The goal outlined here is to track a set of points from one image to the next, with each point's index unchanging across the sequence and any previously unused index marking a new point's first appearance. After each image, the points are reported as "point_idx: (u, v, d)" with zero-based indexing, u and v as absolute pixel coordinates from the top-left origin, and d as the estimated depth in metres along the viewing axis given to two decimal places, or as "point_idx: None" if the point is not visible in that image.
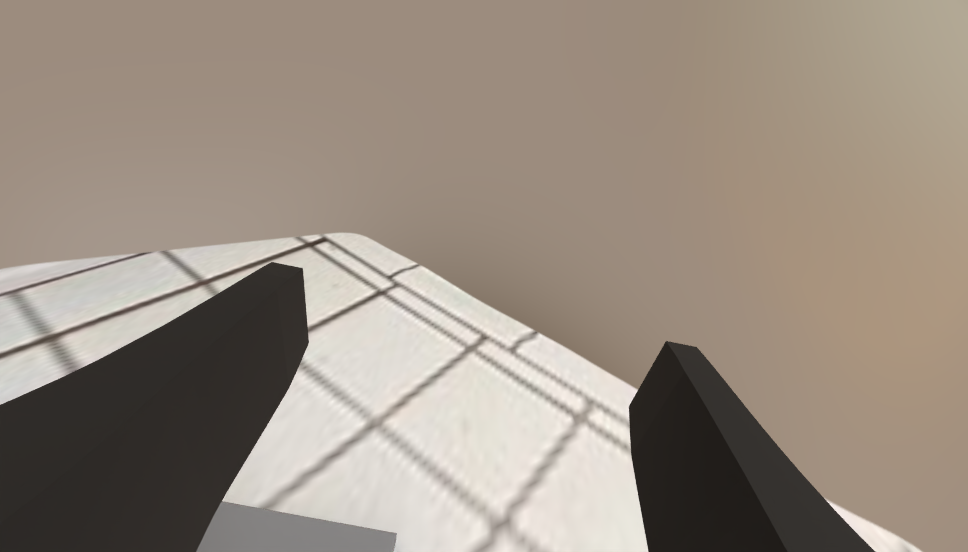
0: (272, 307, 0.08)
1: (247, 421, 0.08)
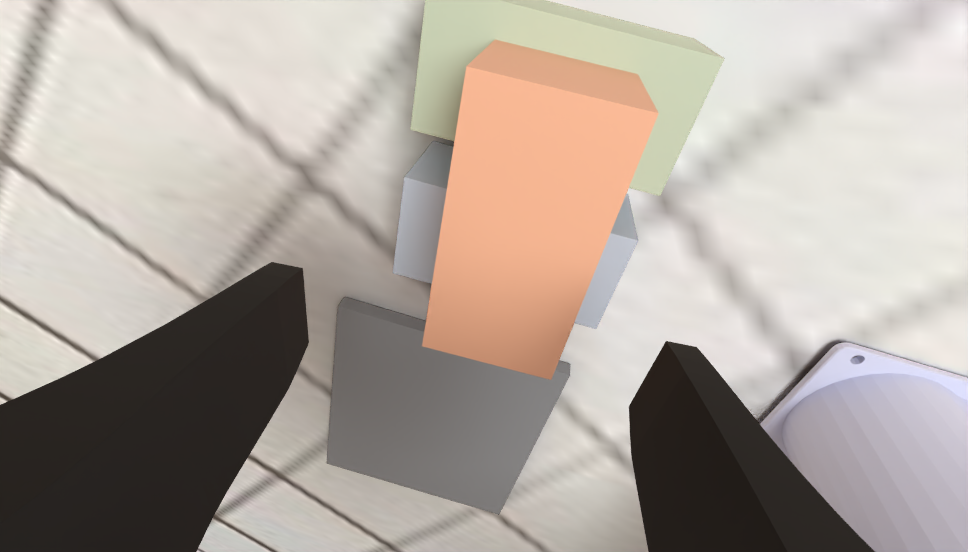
0: (273, 307, 0.08)
1: (247, 421, 0.08)
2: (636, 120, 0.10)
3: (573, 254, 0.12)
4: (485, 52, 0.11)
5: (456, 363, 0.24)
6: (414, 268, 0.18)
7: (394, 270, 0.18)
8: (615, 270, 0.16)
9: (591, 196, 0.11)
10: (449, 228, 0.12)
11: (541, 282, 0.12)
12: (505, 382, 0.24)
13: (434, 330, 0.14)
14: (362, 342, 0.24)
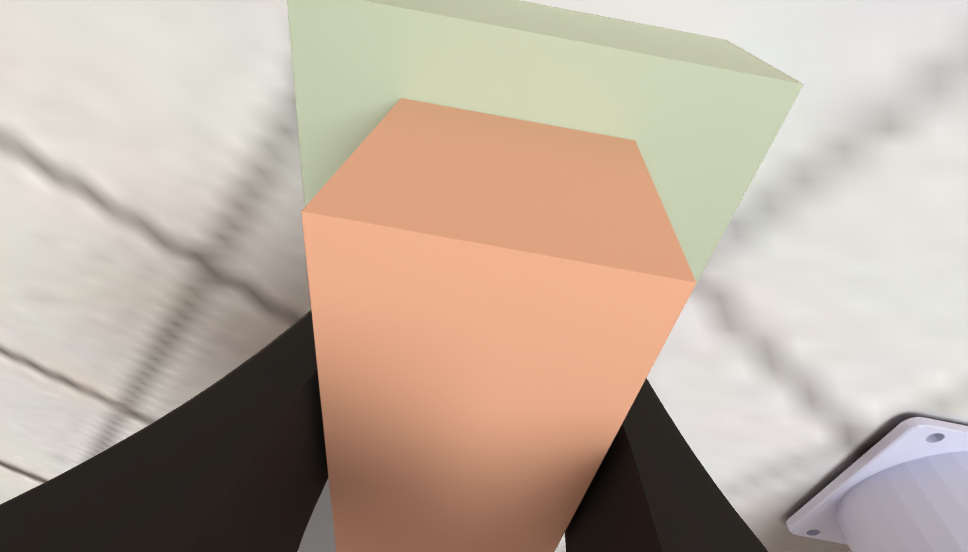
0: None
1: None
2: (652, 294, 0.05)
3: (550, 470, 0.07)
4: (368, 143, 0.06)
5: None
6: None
7: None
8: None
9: (572, 400, 0.06)
10: (339, 437, 0.07)
11: (502, 498, 0.07)
12: None
13: (350, 543, 0.09)
14: None
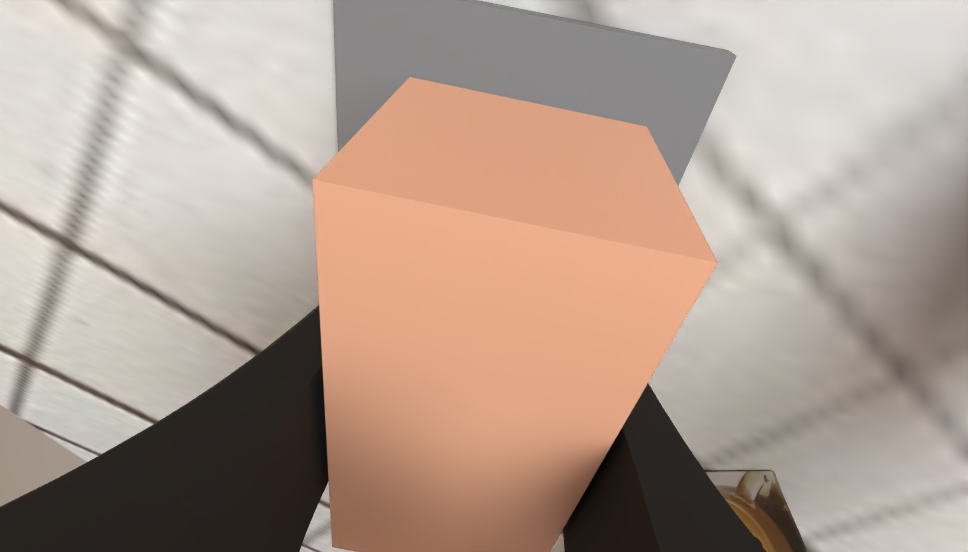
0: None
1: None
2: (671, 275, 0.05)
3: (555, 457, 0.07)
4: (378, 118, 0.06)
5: (538, 72, 0.15)
6: None
7: None
8: None
9: (583, 385, 0.06)
10: (340, 421, 0.07)
11: (505, 487, 0.07)
12: (619, 99, 0.15)
13: (346, 532, 0.09)
14: (380, 57, 0.15)
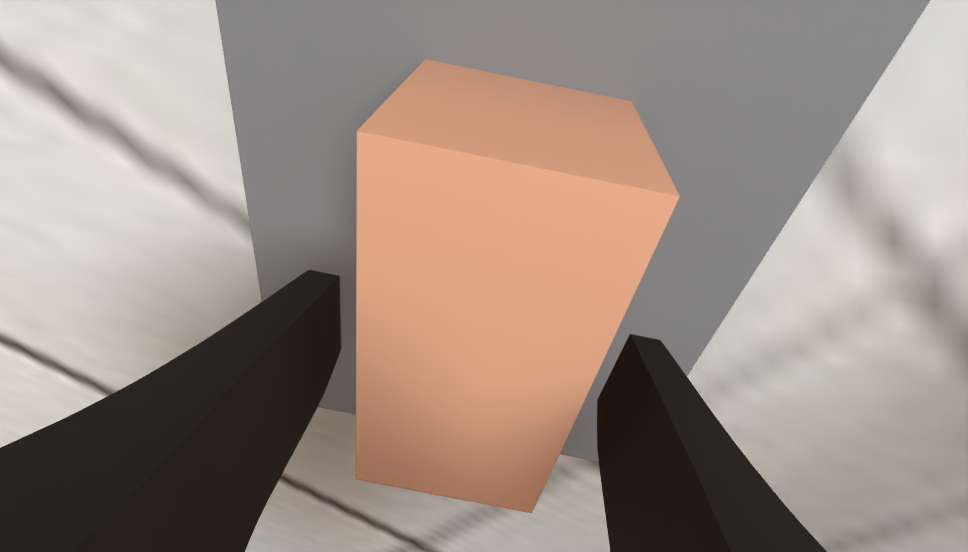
0: (314, 314, 0.08)
1: (288, 428, 0.08)
2: (643, 207, 0.06)
3: (552, 381, 0.08)
4: (402, 90, 0.07)
5: (568, 25, 0.08)
6: None
7: None
8: None
9: (574, 311, 0.07)
10: (369, 351, 0.08)
11: (509, 411, 0.08)
12: (707, 74, 0.09)
13: (369, 463, 0.10)
14: None
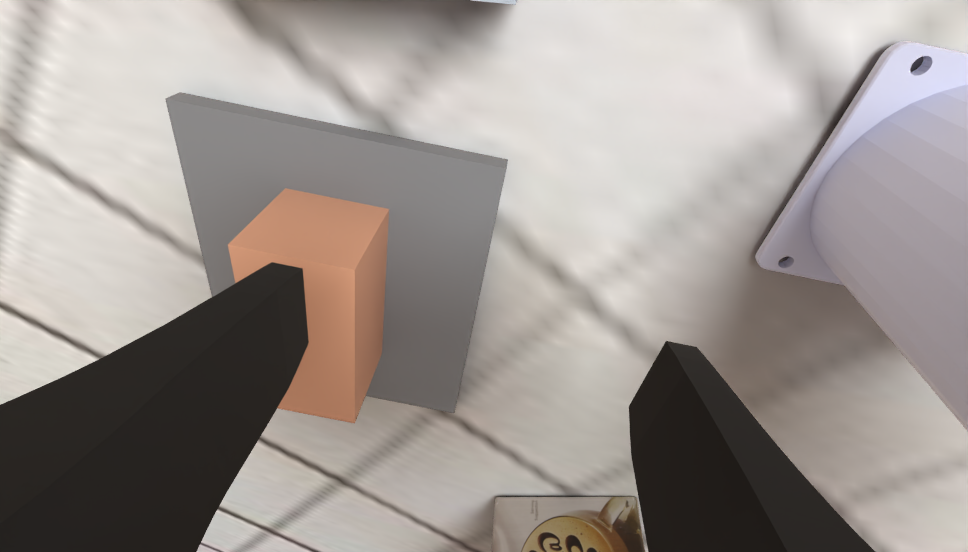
0: (273, 307, 0.08)
1: (247, 421, 0.08)
2: (343, 273, 0.15)
3: (336, 347, 0.17)
4: (260, 215, 0.16)
5: (349, 176, 0.17)
6: None
7: None
8: None
9: (333, 314, 0.16)
10: None
11: (323, 363, 0.17)
12: (420, 198, 0.17)
13: None
14: (217, 160, 0.17)
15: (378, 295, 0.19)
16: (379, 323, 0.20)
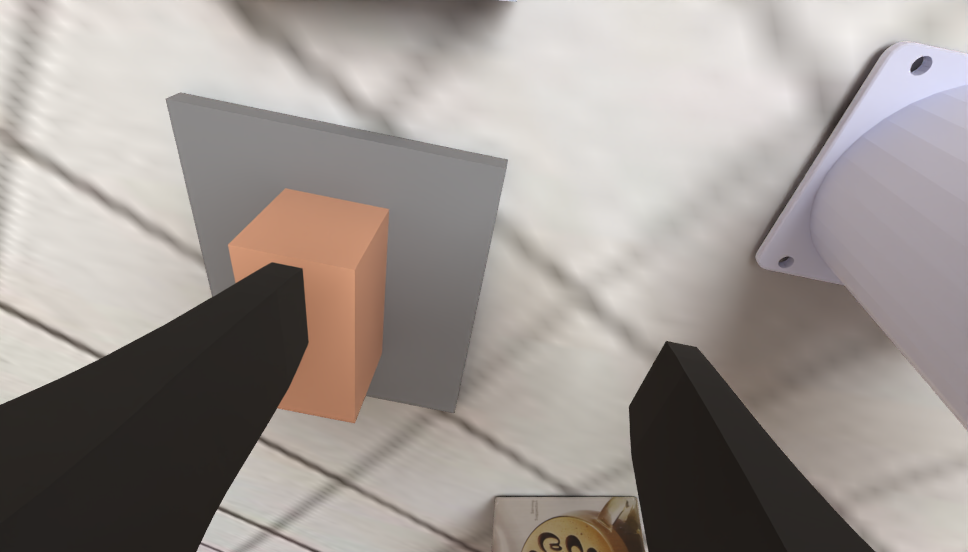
0: (273, 306, 0.08)
1: (247, 421, 0.08)
2: (343, 273, 0.15)
3: (337, 347, 0.17)
4: (260, 215, 0.16)
5: (349, 176, 0.17)
6: None
7: None
8: None
9: (333, 314, 0.16)
10: None
11: (323, 363, 0.17)
12: (420, 198, 0.17)
13: None
14: (217, 160, 0.17)
15: (378, 295, 0.19)
16: (379, 323, 0.21)
